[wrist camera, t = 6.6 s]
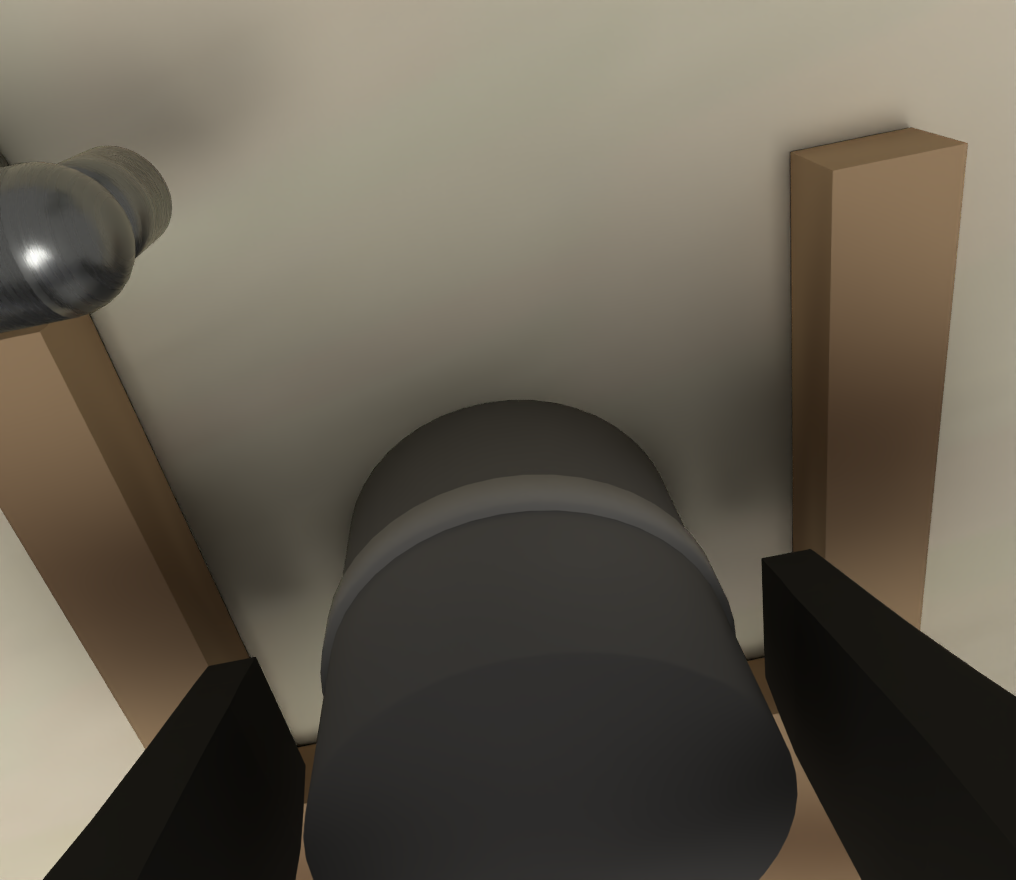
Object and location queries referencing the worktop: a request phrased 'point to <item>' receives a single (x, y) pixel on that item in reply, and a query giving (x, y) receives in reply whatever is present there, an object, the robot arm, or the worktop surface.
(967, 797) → the robot arm
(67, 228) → the hook
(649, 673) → the grey flanged cylinder
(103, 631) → the brown wooden u-shaped bracket
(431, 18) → the worktop surface
